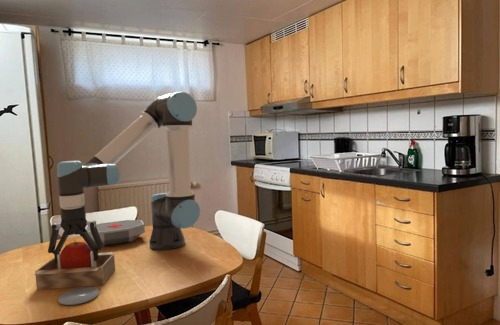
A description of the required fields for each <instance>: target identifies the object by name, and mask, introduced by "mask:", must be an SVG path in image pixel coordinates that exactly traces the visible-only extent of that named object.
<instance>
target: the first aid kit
mask: <svg viewBox="0 0 500 325" xmlns="http://www.w3.org/2000/svg"><path fill="white" fill-rule="evenodd" d="M96 228H97V230H98V233H99V235H100V238H101V240H102V243H103V245H104V246H109V245H110V246H111V245H117V244H124V243H132V242H133V241H135V240H136V239H137V238H139V237H140V236H142V235H143V234H145V232H146V230H145V223H144V221H143V220H142V219H125V220H118V221H117V220H115V221H109V222H108V221H107V222H100V223H96ZM85 229H86V230H87V232H88V234H89V235H90V237H91V238H92V240H93V241H94V238H93V236H92V233H91V230H90V228H89V227H88V226H86V227H85ZM94 242H95V241H94ZM95 244H96V243H95Z"/></svg>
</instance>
